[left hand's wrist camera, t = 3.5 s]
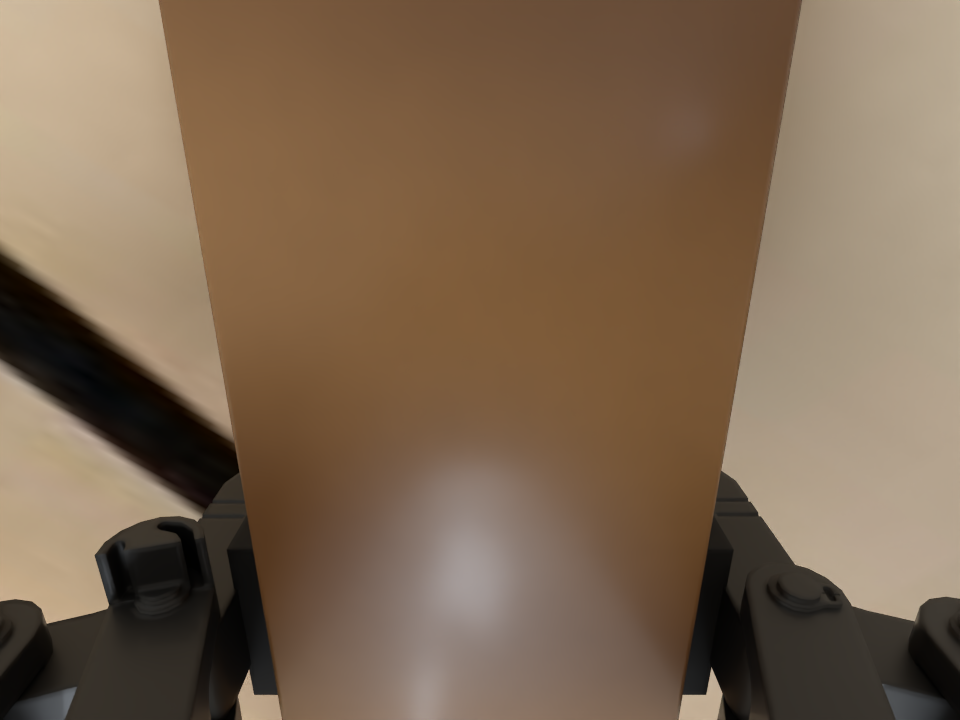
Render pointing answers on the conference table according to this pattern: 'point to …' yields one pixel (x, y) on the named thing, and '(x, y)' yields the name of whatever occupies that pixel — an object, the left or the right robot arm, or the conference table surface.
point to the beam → (480, 331)
